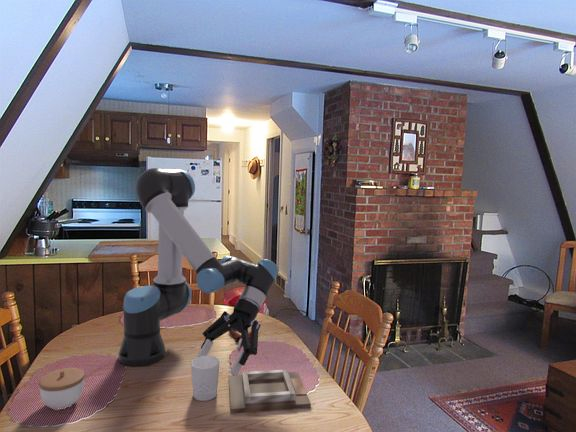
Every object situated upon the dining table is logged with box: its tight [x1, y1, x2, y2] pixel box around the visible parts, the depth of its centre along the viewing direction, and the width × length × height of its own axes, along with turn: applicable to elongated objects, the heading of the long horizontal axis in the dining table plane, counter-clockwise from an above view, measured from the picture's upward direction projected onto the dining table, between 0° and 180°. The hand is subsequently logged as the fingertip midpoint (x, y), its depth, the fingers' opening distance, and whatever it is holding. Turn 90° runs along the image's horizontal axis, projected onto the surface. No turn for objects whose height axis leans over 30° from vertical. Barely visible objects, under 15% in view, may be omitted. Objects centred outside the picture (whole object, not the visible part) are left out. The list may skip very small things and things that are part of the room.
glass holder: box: [228, 369, 312, 414], centre depth 118 cm, size 22×18×3 cm
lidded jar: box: [38, 367, 85, 409], centre depth 109 cm, size 11×11×9 cm
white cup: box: [190, 355, 220, 402], centre depth 116 cm, size 8×8×10 cm
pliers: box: [228, 330, 251, 350], centre depth 156 cm, size 12×20×3 cm, turn 5°
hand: (215, 367), depth 117 cm, fingers open, 13 cm apart
